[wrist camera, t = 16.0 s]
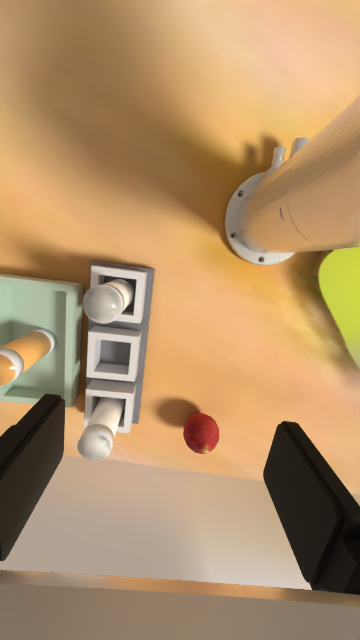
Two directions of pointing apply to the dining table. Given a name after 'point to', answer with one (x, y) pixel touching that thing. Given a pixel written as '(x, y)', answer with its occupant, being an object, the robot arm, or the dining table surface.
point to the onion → (201, 433)
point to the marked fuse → (24, 353)
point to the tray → (50, 313)
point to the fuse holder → (119, 345)
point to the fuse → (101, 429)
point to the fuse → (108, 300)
